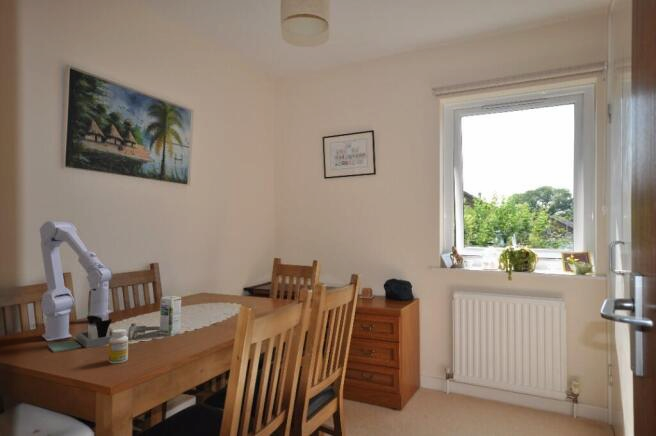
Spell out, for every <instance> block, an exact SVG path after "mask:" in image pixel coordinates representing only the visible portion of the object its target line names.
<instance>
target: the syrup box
mask: <svg viewBox="0 0 656 436" xmlns="http://www.w3.org/2000/svg"><path fill="white" fill-rule="evenodd" d="M181 315H182V297H181V296H174V295H173V296H172V295H165V296H162V297H160V315H159V318H160V319H159V326H160V330H159V334H160V335H165V336H173V335H176V334H178V333H180V332H181Z"/></svg>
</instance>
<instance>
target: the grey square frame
mask: <svg viewBox="0 0 656 436" xmlns="http://www.w3.org/2000/svg"><path fill="white" fill-rule="evenodd" d="M113 330H114V329H113V328H110V335H109V336H107V337H101V338H95V339H90V340H89V339H88V330H87V331H82V332H76V334H75V336H76V338H75V340H76V341H77V343H80V344H81V346H83V347H84V348H86V349H88V348H95V347H99V346H105V345H109V340H110V338H112V337H113V336H112V331H113Z"/></svg>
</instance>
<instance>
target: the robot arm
mask: <svg viewBox="0 0 656 436" xmlns="http://www.w3.org/2000/svg"><path fill="white" fill-rule="evenodd" d="M77 231H78V229H77V228H76V226H75V225H74V224H73V223H72V222H71V221H69V220H67V221H49V220H48V221H45V222H44V223H43V224H42V226H41V227H40V228H39V235H40V249H41V254H42V255H41V257H42V261H43V268H44V269H43V270H44V274H45V282H46V287H47V290H46V292H44V293H43V294H42V296H41V300H42V301H41V305H40V308H41V311H42V313H43V314H44V316H46V317H45V326H44V327H45V333H44V334H42V335H41V336H42V338H44V340H46V341H47V342H50V341H55V340H56V341H57V340H62V339H69V338H72V337H73V335H72V334H71V333H70V313H71V311H72V310H73V308H74V306H75V299H74V297H73V295H72V291H71V290H70V289H69V288H67V287H66V286H65V280H64V273H63V267H62V262H61V254H60V249H59V248H60V246H61V245H62V244H63V243H64V242H65V243H67V244H68V246H69V247H70V248H71V249H72V250H73V251H74V252H75V254H76V255H77V256H78V258H77V262H78V263H79V264H80V265H81V267H82V268H83V269H84V271H85V272H86V273H87V276H86V278H87V281H88V283H89V288H90V290H91V311H90V315H91V316H88V315H87V316H86V319H87V321H88V322H89V325H92V324H93V323H95V325H96V328H97V333H98V338H101V337H106V334H107V330H108V327H109V325H110V326H111V324H112V321H113V319H112V318H109V314H111V313H112V310H111V309H109V289H110V287H109V283H110V281H111V280H112V279H113V271H112V269H111V267H109V266H107V265H105V264H103V263H102V262H101V261H100V259H99V258H98V257H97V254H96V252H93V251H89V250H88V249H87V248H86V246H85V244H84V242H83V241H82V240H81V238H80V237H79V235H78V233H77Z"/></svg>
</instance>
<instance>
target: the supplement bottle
mask: <svg viewBox="0 0 656 436" xmlns="http://www.w3.org/2000/svg"><path fill="white" fill-rule="evenodd" d="M112 330H113V331H112V336H113V337H112V338H110V340H109V344H108V362H109V363H110V364H122V363H126V361H128V358H129V339H128V335H127V329H125V328H118V329H112Z"/></svg>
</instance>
